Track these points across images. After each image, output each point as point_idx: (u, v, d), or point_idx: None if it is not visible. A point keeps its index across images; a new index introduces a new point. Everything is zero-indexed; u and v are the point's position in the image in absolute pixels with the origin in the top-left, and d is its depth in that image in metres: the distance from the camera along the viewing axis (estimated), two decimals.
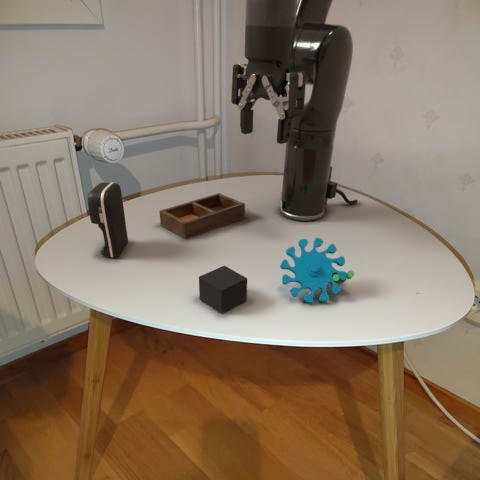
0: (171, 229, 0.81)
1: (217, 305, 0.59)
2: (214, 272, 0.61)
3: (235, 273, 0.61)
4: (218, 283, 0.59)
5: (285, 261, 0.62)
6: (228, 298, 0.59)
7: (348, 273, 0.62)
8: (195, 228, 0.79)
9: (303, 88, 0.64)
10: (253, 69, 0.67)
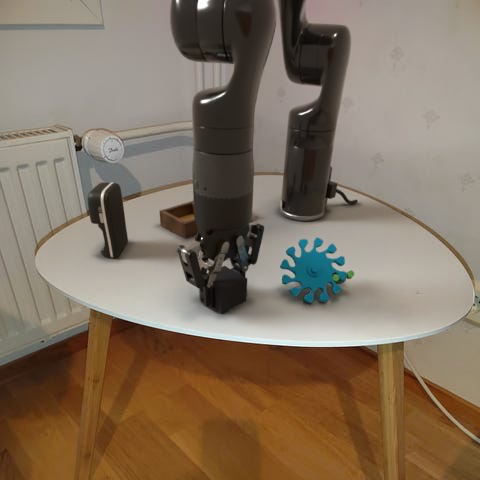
0: (171, 229, 0.81)
1: (217, 305, 0.59)
2: None
3: (235, 273, 0.61)
4: (218, 283, 0.59)
5: (285, 261, 0.62)
6: (228, 298, 0.59)
7: (348, 273, 0.62)
8: (195, 228, 0.79)
9: (189, 267, 0.53)
10: None
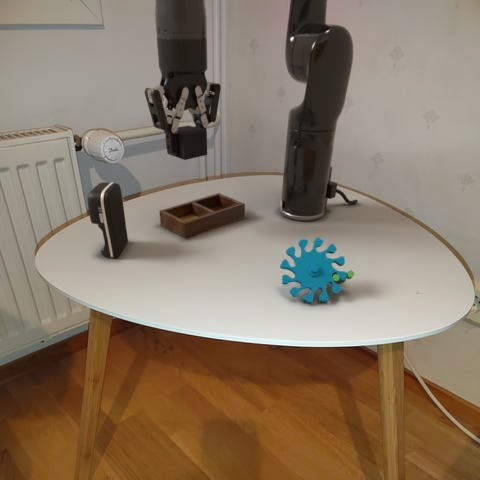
0: (171, 229, 0.81)
1: (180, 152, 0.70)
2: (178, 127, 0.72)
3: (197, 128, 0.72)
4: (181, 132, 0.69)
5: (285, 261, 0.62)
6: (190, 146, 0.70)
7: (348, 273, 0.62)
8: (195, 228, 0.79)
9: (155, 106, 0.64)
10: None
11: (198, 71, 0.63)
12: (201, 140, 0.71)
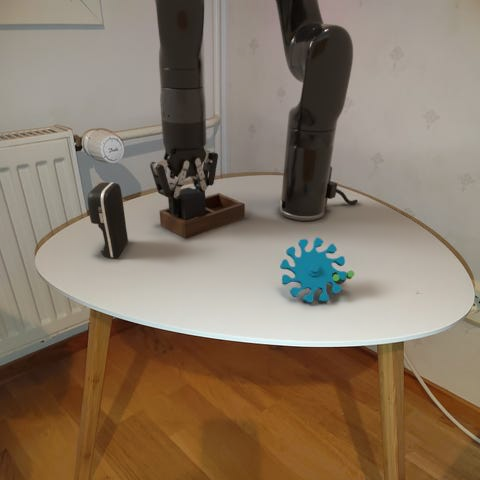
0: (171, 229, 0.81)
1: (182, 213, 0.78)
2: (180, 190, 0.80)
3: (196, 191, 0.80)
4: (182, 196, 0.78)
5: (285, 261, 0.62)
6: (190, 208, 0.78)
7: (348, 273, 0.62)
8: (195, 228, 0.79)
9: (159, 178, 0.72)
10: None
11: (198, 148, 0.72)
12: (200, 202, 0.79)
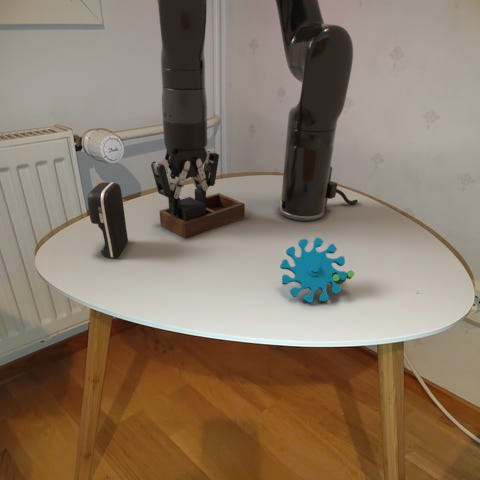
0: (171, 229, 0.81)
1: None
2: (181, 200, 0.81)
3: (197, 201, 0.81)
4: (183, 206, 0.79)
5: (285, 261, 0.62)
6: (191, 218, 0.79)
7: (348, 273, 0.62)
8: (195, 228, 0.79)
9: (160, 177, 0.72)
10: None
11: (199, 148, 0.72)
12: (201, 212, 0.80)
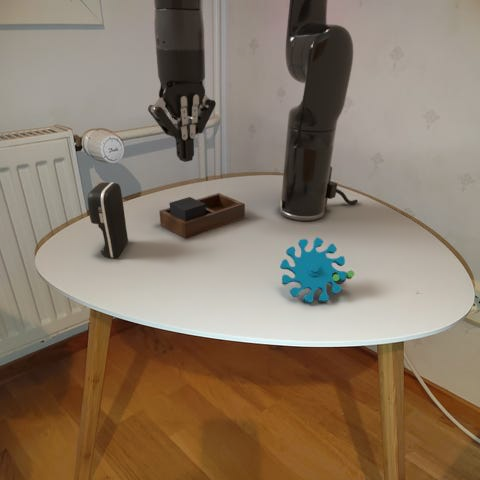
0: (171, 229, 0.81)
1: None
2: (181, 200, 0.81)
3: (197, 201, 0.81)
4: (183, 206, 0.79)
5: (285, 261, 0.62)
6: (191, 218, 0.79)
7: (348, 273, 0.62)
8: (195, 228, 0.79)
9: (161, 121, 0.68)
10: None
11: (196, 80, 0.66)
12: (201, 212, 0.80)
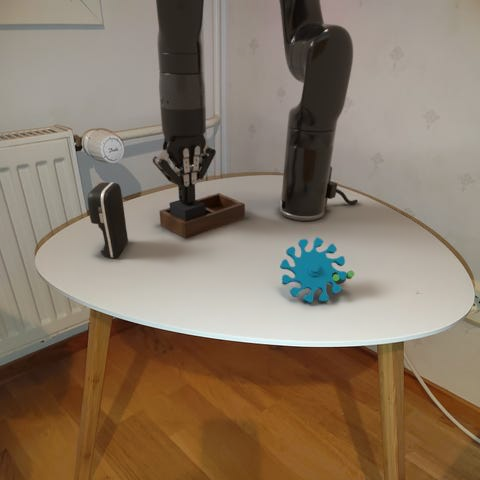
0: (171, 229, 0.81)
1: None
2: None
3: (197, 201, 0.81)
4: (183, 206, 0.79)
5: (285, 261, 0.62)
6: (191, 218, 0.79)
7: (348, 273, 0.62)
8: (195, 228, 0.79)
9: (165, 171, 0.73)
10: None
11: (197, 135, 0.70)
12: (201, 212, 0.80)
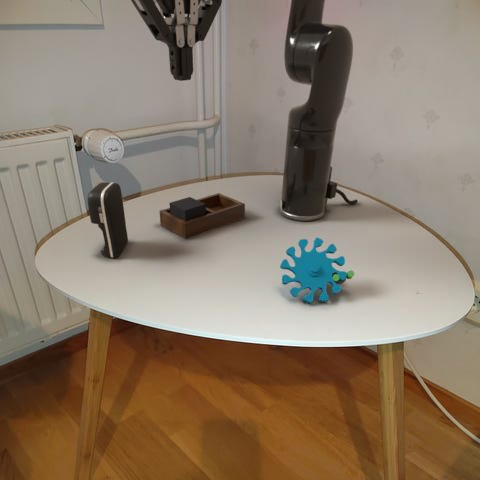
0: (171, 229, 0.81)
1: None
2: (181, 200, 0.81)
3: (197, 201, 0.81)
4: (183, 206, 0.79)
5: (285, 261, 0.62)
6: (191, 218, 0.79)
7: (348, 273, 0.62)
8: (195, 228, 0.79)
9: (148, 14, 0.49)
10: None
11: None
12: (201, 212, 0.80)
